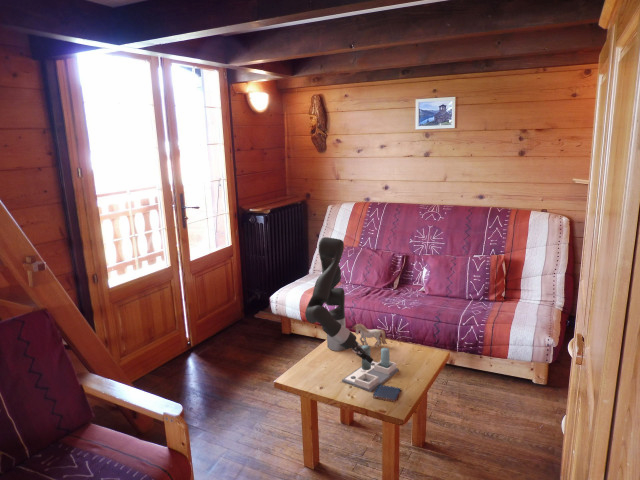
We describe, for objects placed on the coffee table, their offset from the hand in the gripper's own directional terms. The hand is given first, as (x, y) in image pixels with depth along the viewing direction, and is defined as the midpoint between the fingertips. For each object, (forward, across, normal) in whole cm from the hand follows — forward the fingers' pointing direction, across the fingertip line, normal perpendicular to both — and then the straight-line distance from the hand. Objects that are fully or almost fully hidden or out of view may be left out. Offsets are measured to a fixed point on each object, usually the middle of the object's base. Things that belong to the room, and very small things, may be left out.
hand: (370, 359), depth 203 cm
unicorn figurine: (+16, +36, +2) cm, 39 cm away
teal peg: (+2, 0, +4) cm, 4 cm away
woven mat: (+13, -10, +6) cm, 17 cm away
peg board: (+10, +8, +7) cm, 15 cm away
